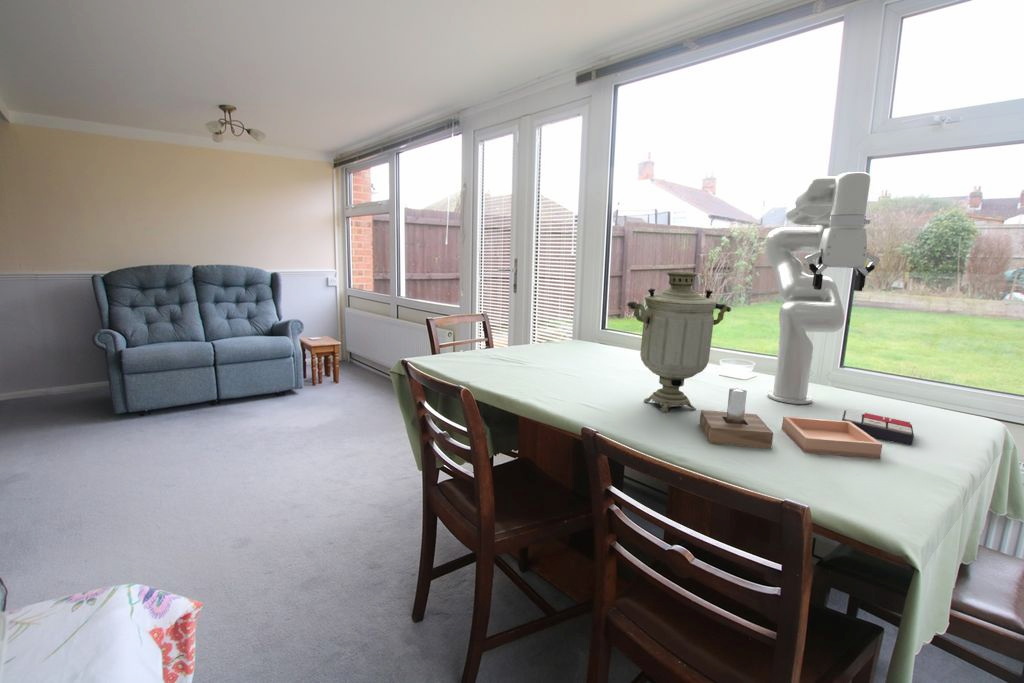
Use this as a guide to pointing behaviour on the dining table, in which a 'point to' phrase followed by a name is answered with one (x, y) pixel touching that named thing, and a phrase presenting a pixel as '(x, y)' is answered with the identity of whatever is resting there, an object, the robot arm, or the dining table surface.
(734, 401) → the pin
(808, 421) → the tray
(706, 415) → the wooden square hole block
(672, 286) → the samovar
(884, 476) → the dining table surface
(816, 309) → the robot arm
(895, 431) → the calculator
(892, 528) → the dining table surface
